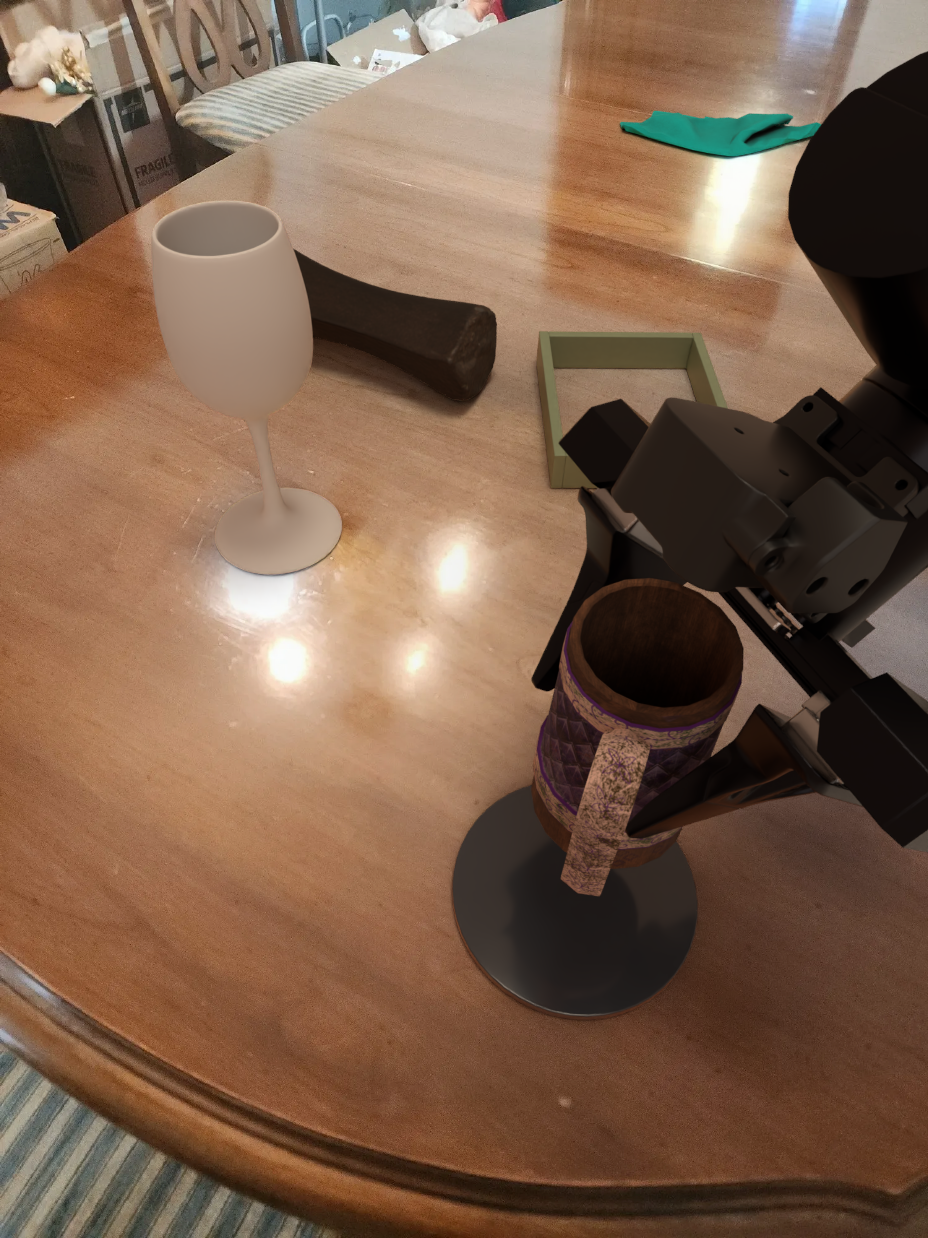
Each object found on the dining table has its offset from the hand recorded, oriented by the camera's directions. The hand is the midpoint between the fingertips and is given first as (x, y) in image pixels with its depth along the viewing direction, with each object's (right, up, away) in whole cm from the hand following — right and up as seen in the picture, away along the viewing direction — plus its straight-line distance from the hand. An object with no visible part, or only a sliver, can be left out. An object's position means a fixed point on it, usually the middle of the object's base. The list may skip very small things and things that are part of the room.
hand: (581, 755), depth 32 cm
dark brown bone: (-15, +28, +42) cm, 53 cm away
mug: (+1, -4, +5) cm, 7 cm away
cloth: (+28, +66, +76) cm, 104 cm away
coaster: (+1, -8, +10) cm, 13 cm away
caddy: (+9, +21, +36) cm, 43 cm away
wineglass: (-17, +11, +27) cm, 34 cm away
